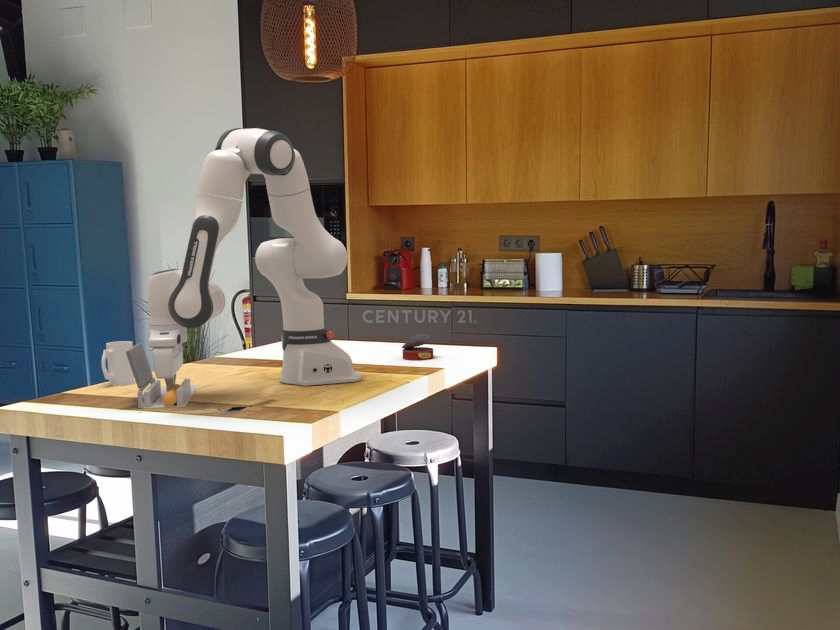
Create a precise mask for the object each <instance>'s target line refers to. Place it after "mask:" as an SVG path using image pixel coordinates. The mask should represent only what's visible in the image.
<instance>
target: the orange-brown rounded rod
mask: <svg viewBox="0 0 840 630" xmlns="http://www.w3.org/2000/svg"><path fill="white" fill-rule="evenodd" d="M180 385H181V384H178V383H176V384H174V385H173V386H172V387H171V388H170V389H169V390H168V392H167V393H166V394H165V396H164V397H163V403H164V404H165V405H166V406H173V405H174V404H175V403H176V401H177V398H176V390H177V389H178V387H179V386H180Z"/></svg>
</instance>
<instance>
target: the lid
mask: <svg viewBox="0 0 840 630" xmlns="http://www.w3.org/2000/svg"><path fill="white" fill-rule="evenodd" d="M126 355H127V358H128V360H129V363H130V366H131V369H132V372H133V375H134V382H135V383H136V387H137V388H138V391H143V392H144V391H145V390H146V389H147V388H148V387H149V386H150V385H151V382H152V381H153V380H154V378H155V377H154V375H153V371H152V368H151V366H150V364H149V361H148V357H147V354H146V352H145V349H144V347H143V343H142V342H139V343H137V344H135V345H133V347H132V348H131V349H129V350H128V351H126Z"/></svg>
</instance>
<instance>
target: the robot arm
mask: <svg viewBox="0 0 840 630" xmlns="http://www.w3.org/2000/svg"><path fill="white" fill-rule="evenodd" d="M306 170H307V169H306V166H305V164H304V160H303V158H302V155H301V154H300V152H299V150H297V149H295V148H294V146H293V143H292V142H291V140H290V139H289V137H288V136H286V135H285V134H284V133H282V132H278V131H275V130H267V129H264V128H259V127H256V128H255V127H254V128H252V127H251V128H240V127H235V128H230V129H227V130H226V131H224V132H223V133H222V134H221V135H220V137H219V138H218V140H217V142H216V147H214V150H212V151H210V152H209V153H208V154H207V155H206V156H205V159H204V162H203V164H202V166H201V170H200V173H199V177H198V179H197V180H198V181H197V185H196V192H195V197H194V198H195V199H194V205H193V213H192V223H191V229H190V236H189V240H188V244H187V249H186V252H185V258H184V262H183V268H182V269H179V268H170V269H165V270H160V271H159V270H158V271H155V272H154V273H152V274H151V275H150V276H149V277H148V278H149V279H148V282H147V308H148V311H149V320H148V332H149V335H148V336H149V339H148V346H149V348H151V355H152V362H153V371H154V374H155V379H156V380H164V382H165V385H166V390H167V392H168V390H169V389H170V388H171V387H172V386H173V385H174V384H177V383H176V382H177V372H179V370H180V369H181V367H182V366H183V365H184V357H183V356H184V354H183V344H184V343H186V342H188V329H195V328H199V327H201V326H204V324H206V323H207V322H210V321H211V320H213V319H215V318H217V317H218V316H220V315H221V313H222V312H223V311H224V308H225V307H226V298H225V294H224V292H223V290H222V288H220V287H219V286H218V285H217V284H214V283H212V282H210V279H211V275H212V270H213V266H214V262H215V261H214V260H215V256H216V253H217V252H216V251H217V249H218V247H219V246H220V244H221V243H222V241H223V240H224V239H225V237H226V236H228V234H230V233H231V232H232V231H233V230H234V229H235V227H237V223H238V220H239V217H240V216H241V211H242V206H243V201H244V194H245V193H244V192H245V184H246V181H247V180H248V178H249V177H250V175H251V174H252V175H263V176H264V177H263V178H264V179H265V185H266V190H267V191H266V192H267V197H268V201H269V202H268V203H269V208H270V212H271V217H272V220H273V221H274V223H275V225H277V227H278V228H281V229H283V230H285V231H287V232H288V233H290V234H291V235H292V236H293V238H291V237H289V238H286V237H285V238H276V239H275V238H274V239H270V240H267V241H263V242H260V245H259V246H258V247H257V249H256V251H255V256H254V257H255V258H254V260H255V265H256V268H257V270H258V271H259V273H260V274H261V275H262V276H263V277H265V278H266V279H267V280H269V282H270V283H271V284H272V286H273V287H274V288H275V290H276V292H277V295H278V297H279V300H280V304H281V312H282V313H281V314H282V327H283V329H282V330H281V348H282V351H283V355H282V366H281V372H280V375H279V380H278V382H280V383H284V384H290V385H299V386H302V387H306V386H307V387H308V386H319V385H329V384H342V383H343V384H344V383H353V382H359V381H360V380H362V378H363V377H362V373H361V372H360V371H357V370H354V364H353V361H352V360H353V359H352V357H351V356H350V354H349V353H348V352H346V351H345V350H344V349H342V348H341V347H340V346H338V345H337V344H336V343H334V342H332V339H333V338H334V336H335V334H334V332H333V331H331V330H330V329H328V328H325V322H324V320H325V319H324V302H323V301H322V298H320V296H319V295H318V294H316V293H314V292H312V291H311V290H309V289H308V287H306V285H305V282H304V279H326V278H327V279H328V278H331V277H336V276H339V275H342V273H343V272H344V270H345V269H346V266H347V263H348V252H347V249H346V246H344V244H343V242H342V241H340V240H339V239H337V238H335V237H334V236H333V235H331V234H330V232H328V231H327V230H326V229H325V228H324V226H323V225H322V223H321V221H320V220H319V218H318V216H317V213H316V211H315V210H316V209H315V207H314V202H313V197H312V193H311V186H310V182H309V176H308V173H307V171H306Z"/></svg>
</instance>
